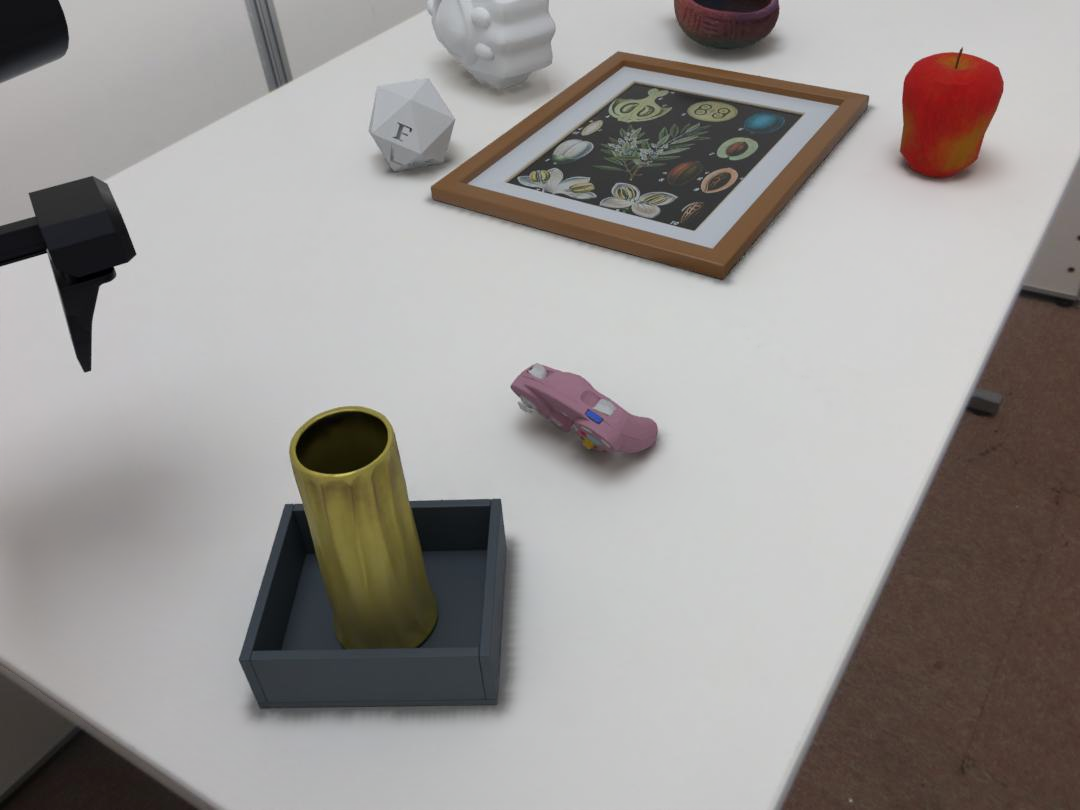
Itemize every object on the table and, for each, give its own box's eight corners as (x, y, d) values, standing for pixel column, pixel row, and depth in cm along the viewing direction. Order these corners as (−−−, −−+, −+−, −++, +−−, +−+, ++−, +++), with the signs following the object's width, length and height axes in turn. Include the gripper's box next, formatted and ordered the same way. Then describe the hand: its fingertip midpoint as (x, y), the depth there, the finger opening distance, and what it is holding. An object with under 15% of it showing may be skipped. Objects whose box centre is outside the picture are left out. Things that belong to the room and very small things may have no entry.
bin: (259, 708, 54) (238, 660, 51) (300, 552, 62) (284, 503, 59) (497, 704, 53) (490, 656, 50) (506, 547, 62) (501, 498, 59)
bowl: (787, 30, 125) (794, -36, 120) (762, 68, 116) (768, -1, 111) (666, 19, 130) (668, -45, 125) (634, 55, 121) (634, -12, 116)
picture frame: (429, 186, 95) (617, 50, 119) (431, 199, 96) (617, 62, 120) (723, 265, 82) (870, 94, 106) (722, 280, 83) (867, 107, 106)
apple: (996, 161, 96) (1028, 41, 88) (958, 195, 91) (989, 72, 84) (913, 138, 100) (937, 22, 93) (873, 170, 96) (895, 50, 88)
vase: (417, 562, 60) (379, 385, 51) (454, 635, 56) (421, 456, 47) (322, 600, 59) (265, 424, 49) (353, 678, 54) (297, 501, 45)
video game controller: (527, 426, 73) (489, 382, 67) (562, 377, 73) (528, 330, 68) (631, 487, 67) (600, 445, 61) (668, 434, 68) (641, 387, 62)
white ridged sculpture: (493, 48, 126) (481, -87, 115) (572, 92, 114) (566, -54, 104) (417, 70, 122) (397, -68, 111) (491, 118, 110) (477, -31, 99)
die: (357, 167, 104) (350, 119, 94) (392, 99, 106) (388, 45, 97) (431, 199, 104) (432, 154, 94) (464, 129, 106) (468, 79, 97)
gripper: (49, 39, 54) (141, 278, 64) (-352, 127, 47) (-179, 376, 58) (81, 109, 46) (180, 368, 56) (-390, 225, 40) (-184, 492, 50)
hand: (3, 395), depth 55 cm, fingers open, 9 cm apart
